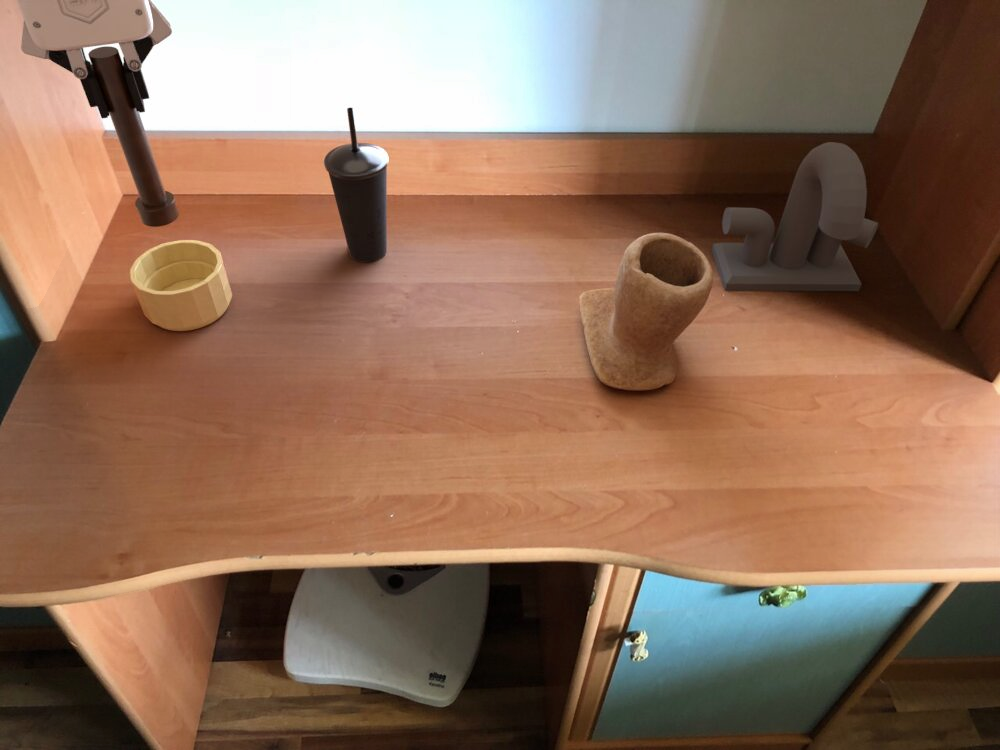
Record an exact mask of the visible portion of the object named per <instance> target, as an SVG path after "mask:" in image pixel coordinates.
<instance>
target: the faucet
mask: <svg viewBox="0 0 1000 750" xmlns="http://www.w3.org/2000/svg"><path fill="white" fill-rule="evenodd" d="M867 194H868V190H867V179H866V174H865V170H864V167H863V164H862V162H861V160H860V158H859V156H858V154H857V153H856V151H854V150H853V149H852V148H851V147H849V146H848V145H846V144H845V143H841V142H834V141H828V142H824V143H821V144H819V145H818V146H815V147H814V148H813V149H811V150H810V151H809V152H808V153H807V154H806V155H805V157H804V158H803V160H802V161H801V162H800V165H799V166H798V169H797V171H796V174H795V176H794V178H793V182H792V185H791V188H790V191H789V194H788V197H787V201H786V204H785V206H784V210H783V212H782V215H781V220H780V222H779V225H778V227H777V232H776V225H775V221H774V219H773V218H772V216H771V215H770V214H769V213H768V212H767V211H765V210H763V209H760V208H757V207H730V206H729V207H728V206H727V207H726V208H725V209H724V212H723V215H722V222H721V223H722V232H723V234H724V235H735V236H739V235H740V236H741V235H743V236H745V237H744V241H743V242H717V243H716V242H715V243H712V247H711V251H710V252H711V254H712V257H713V259H714V262H715V266H716V269H717V272H718V275H719V278H720V281H721V284H722V286H723V287H722V288H723V289H724V290H723V291H724V292H725V291H726V292H727V291H729V292H730V291H732V292H733V291H736V292H738V291H739V292H740V291H741V292H743V291H745V292H751V291H752V292H770V291H771V292H860V289H861V288H862V282H861V280H860V278H859V277H858V275H857V272H856V271H855V269H854V267H853V265H852V263H851V261H850V259H849V257H848V256H847V253H846V252H845V250H844V248H843V246H842V242H843V241H844V242H847V243H850V244H852V245H855V246H858V247H860V248H862V249H867V248H868V247H869V245H870V243H872V240H873V238H874V237H875V234H876V232H877V229H878V226H879V222H876V221H874V220H871V219H868V218H865V216H866V215H865V214H866V208H867V196H868V195H867ZM775 232H776V233H775ZM774 237H775V238H774ZM773 240H774V241H773Z"/></svg>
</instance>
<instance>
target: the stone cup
mask: <svg viewBox="0 0 1000 750" xmlns="http://www.w3.org/2000/svg"><path fill="white" fill-rule="evenodd" d="M713 283H714V272H713V268H712V265H711V263H710V261H709V260H708V258H707V257H706V255H705V254H704V253H703V252H702V251H701V250H700V249H699V248H698V247H697V246H696V245H694V244H693V243H692V242H690V241H689V240H688V241H687V240H685V238H682V237H680V236H678V235H675V234H672V233H668V232H667V233H666V232H650V233H647V234H644V235H641V236H639V237H638V238H637V239H635V240H633V241H632V242H631V243H630V244H629V245H628V246H627V248H626V249H625V251H624V253H623V255H622V258H621V262H620V265H619V267H618V270H617V275H616V278H615V281H614V287H613V288H610V287H609V288H606V287H605V288H597V289H596V288H595V289H589V290H586V291H584V292H582V293H581V294H580V295H579V298H578V300H579V309H580V318H581V323H582V327H583V332H584V333H583V334H584V339H585V343H586V349H587V352H588V355H589V356H588V357H589V360H590V363H591V366H592V369H593V371H594V373H595V375H596V376H597V378H598V380H599V381H601V383H602V384H604V385H606V386H608V387H611V388H614V389H619V390H625V391H637V392H639V391H650V390H651V391H652V390H656V389H659V388H661V387H663V386H664V385H665V386H666V385H669V384H671V383H673V381H674V380H675V377H676V372H677V366H676V364H677V363H676V361H677V360H676V351H675V346H674V342H675V341H676V340H677V339H678V337H680V335H682V333H683V332H685V330H686V329H687V328H688V327H689V326H690V325H691V324H692V323H693V322H694V320H695V319H696V318H697V317H698V315H699V314H700V313H701V312H702V310H703V308H704V307H705V306H706V303H707V302H708V299H709V297H710V294H711V291H712V288H713Z"/></svg>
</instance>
